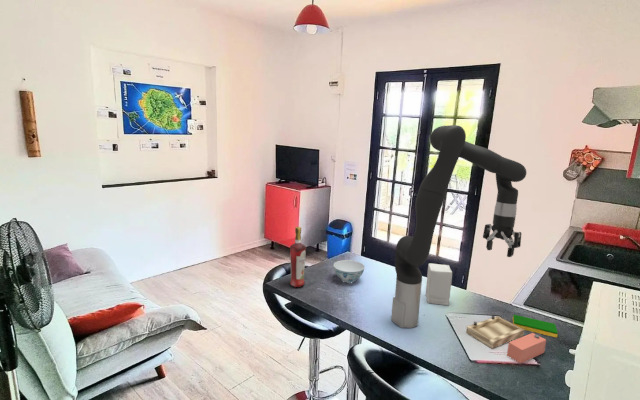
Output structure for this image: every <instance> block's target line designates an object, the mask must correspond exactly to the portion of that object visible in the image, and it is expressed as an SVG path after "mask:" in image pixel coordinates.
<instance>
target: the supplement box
mask: <svg viewBox="0 0 640 400" xmlns="http://www.w3.org/2000/svg"><path fill="white" fill-rule="evenodd" d="M452 278H453V271H452V269H451V267H450V265H449V264H438V263H428V266H427V275H426V288H425V296H426V297H425V298H426V302H427V304H434V305H442V306H449V305H450V298H451V290H452V288H451V287H452V280H453V279H452Z"/></svg>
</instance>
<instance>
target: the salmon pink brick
mask: <svg viewBox="0 0 640 400" xmlns="http://www.w3.org/2000/svg"><path fill="white" fill-rule="evenodd" d="M546 343H547V338H546V339H545V338H543V337H541V336H540V335H538V334H537V333H535V332H531V333H529V334H527V335H524V336H522V337H520V338H517V339H515V340H512V341H510V342H508V346H507V352H506V356H507V357H508V356H509V357H508V358H510V357H511V358H510V359H512V360H513V359H514V360H513V361H515V360H516V361H515V362H517V363H518V364H520V365H521V364H522V362H523V363H525V362H527V361H530V360H531V358H532V359H533V358H536V357H538V356H540V355H542V354H544V353H545V351H546V345H547V344H546Z"/></svg>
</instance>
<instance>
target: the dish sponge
mask: <svg viewBox="0 0 640 400" xmlns="http://www.w3.org/2000/svg"><path fill="white" fill-rule="evenodd" d="M512 324H514V325H516V326H518V327H520V328H522V329H524V331H527V332H531V333H534V334H541V335H545V336H549V337H554V338H558V335H559V333H558V329H557V326H556V324H555V323H554V322H553V323H552V322H549V321H544V320H541V319H540V320H539V319H535V318H531V317H527V316H522V315H519V314H518V315H517V314H513V315H512Z"/></svg>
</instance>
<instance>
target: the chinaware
mask: <svg viewBox="0 0 640 400" xmlns="http://www.w3.org/2000/svg"><path fill="white" fill-rule="evenodd" d="M333 269H334V273H335V274H336V276H337V277H338V279H340V280H341V279H342V280H341V282H342V281H344V282H347V283H346V284H352V283H351V282H354V281H355V282H356V280H359V278H361V277H362V276H363V273H364V271H365V265H364V264H363V263H362V262H359V261H356V260H351V259H343V260H338V261H335V262H334V263H333ZM344 282H343V283H344ZM355 282H354V283H355Z"/></svg>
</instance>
